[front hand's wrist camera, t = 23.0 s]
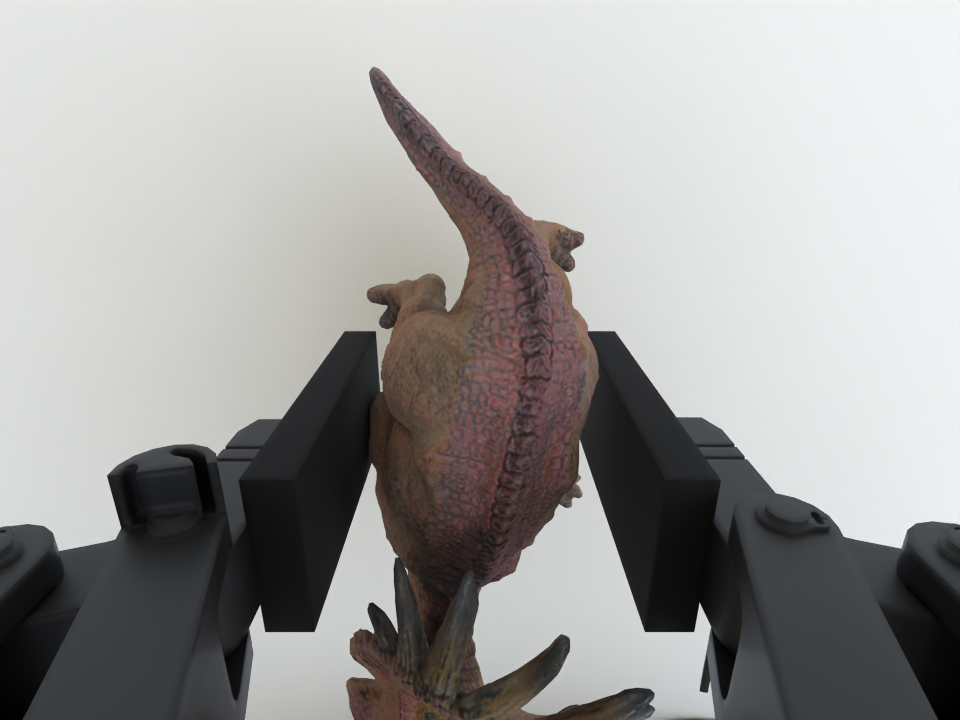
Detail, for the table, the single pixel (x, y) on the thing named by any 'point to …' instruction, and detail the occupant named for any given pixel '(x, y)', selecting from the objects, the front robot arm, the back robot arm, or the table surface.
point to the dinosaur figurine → (472, 446)
